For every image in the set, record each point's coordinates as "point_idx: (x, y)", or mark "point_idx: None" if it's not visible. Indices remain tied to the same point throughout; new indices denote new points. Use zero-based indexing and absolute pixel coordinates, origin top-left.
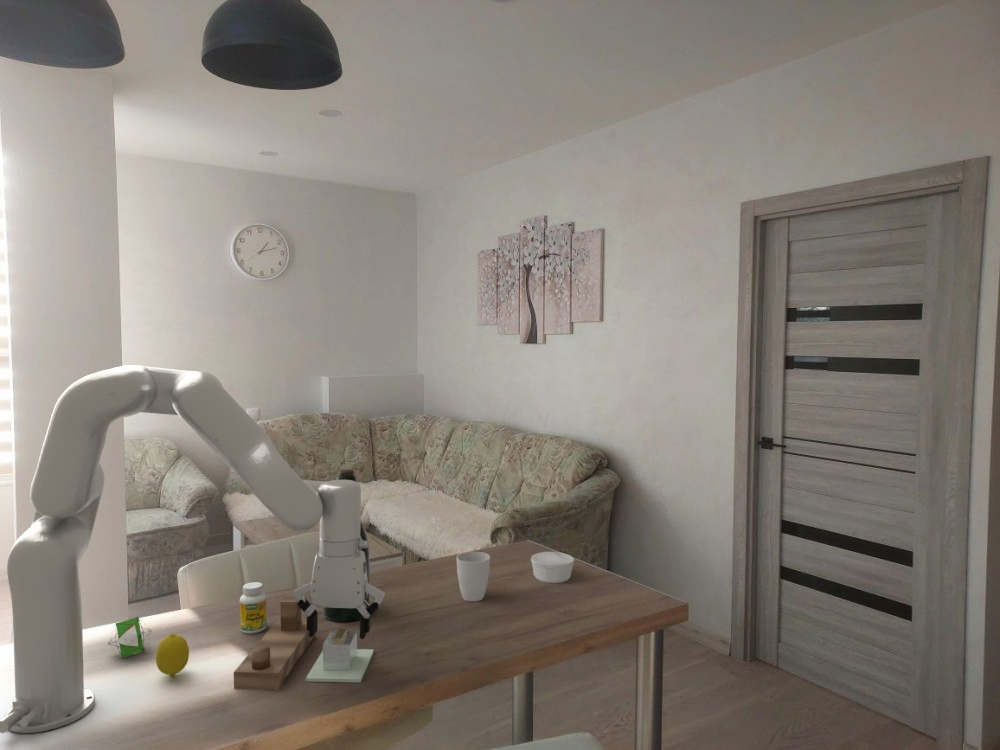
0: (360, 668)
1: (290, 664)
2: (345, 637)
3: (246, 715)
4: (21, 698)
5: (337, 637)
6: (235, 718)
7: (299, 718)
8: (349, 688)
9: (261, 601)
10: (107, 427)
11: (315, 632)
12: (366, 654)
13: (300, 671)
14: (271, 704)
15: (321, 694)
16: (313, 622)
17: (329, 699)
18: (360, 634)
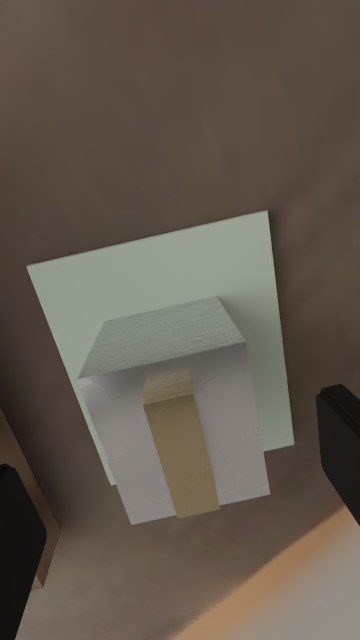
0: (269, 384)
1: (4, 458)
2: (211, 432)
3: (68, 623)
4: None
5: (193, 504)
6: (53, 636)
7: (200, 600)
8: (267, 471)
9: None
10: None
11: (28, 500)
12: (250, 268)
13: (50, 429)
14: (95, 581)
15: (200, 515)
16: (9, 636)
17: (234, 527)
18: (337, 487)
